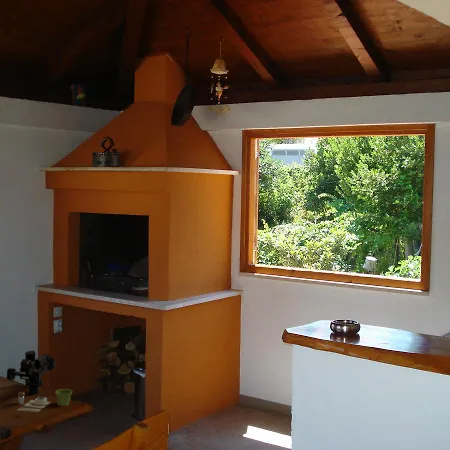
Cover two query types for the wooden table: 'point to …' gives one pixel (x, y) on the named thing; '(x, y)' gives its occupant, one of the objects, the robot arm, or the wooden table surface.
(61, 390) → the plant pot
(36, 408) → the board
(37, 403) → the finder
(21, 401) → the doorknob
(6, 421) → the wooden table surface
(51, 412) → the wooden table surface
